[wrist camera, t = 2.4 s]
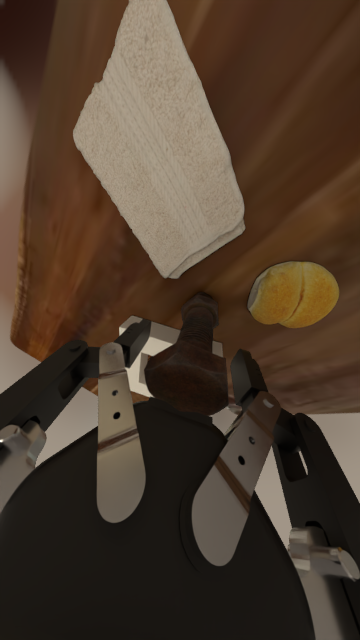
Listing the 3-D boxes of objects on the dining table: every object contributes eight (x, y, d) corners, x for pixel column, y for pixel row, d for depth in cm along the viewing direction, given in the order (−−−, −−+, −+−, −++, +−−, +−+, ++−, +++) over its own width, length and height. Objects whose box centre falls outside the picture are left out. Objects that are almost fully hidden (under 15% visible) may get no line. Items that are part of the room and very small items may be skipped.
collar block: (222, 343, 24) (223, 360, 21) (195, 395, 33) (193, 412, 30) (132, 315, 25) (119, 326, 22) (130, 372, 34) (121, 386, 31)
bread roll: (305, 325, 20) (324, 343, 16) (241, 315, 21) (246, 329, 18) (345, 264, 16) (382, 271, 12) (261, 256, 17) (273, 260, 13)
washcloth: (172, 281, 21) (166, 287, 18) (81, 147, 16) (54, 129, 13) (251, 226, 16) (259, 223, 13) (156, -2, 10) (136, -83, 8)
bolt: (197, 322, 23) (176, 422, 10) (178, 299, 22) (127, 381, 9) (228, 303, 20) (252, 407, 8) (209, 276, 19) (197, 346, 6)
